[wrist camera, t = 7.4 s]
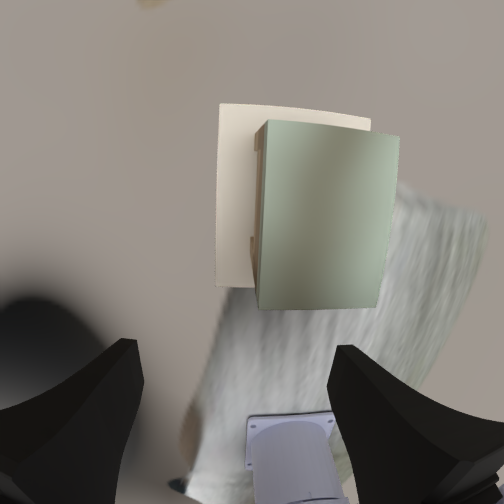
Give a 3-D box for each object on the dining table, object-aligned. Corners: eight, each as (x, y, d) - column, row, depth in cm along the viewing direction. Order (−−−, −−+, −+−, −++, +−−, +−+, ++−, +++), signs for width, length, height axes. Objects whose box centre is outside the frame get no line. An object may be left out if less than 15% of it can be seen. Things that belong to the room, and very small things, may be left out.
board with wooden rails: (339, 141, 16) (399, 137, 10) (329, 254, 18) (375, 307, 12) (254, 133, 16) (267, 119, 9) (249, 252, 18) (258, 309, 12)
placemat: (350, 285, 20) (352, 287, 19) (215, 284, 19) (215, 286, 19) (368, 119, 16) (370, 118, 16) (220, 104, 16) (219, 103, 15)
